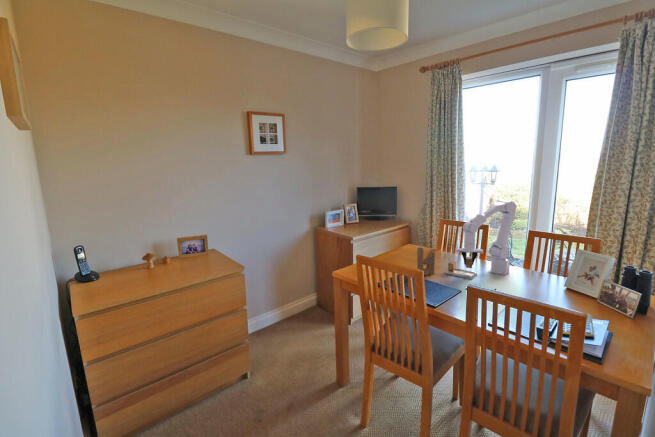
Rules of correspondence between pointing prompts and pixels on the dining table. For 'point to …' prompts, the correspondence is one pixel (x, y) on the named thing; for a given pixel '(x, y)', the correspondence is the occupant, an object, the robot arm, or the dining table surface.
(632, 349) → the dining table surface
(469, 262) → the tan cardboard box
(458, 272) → the rail
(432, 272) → the wooden block
